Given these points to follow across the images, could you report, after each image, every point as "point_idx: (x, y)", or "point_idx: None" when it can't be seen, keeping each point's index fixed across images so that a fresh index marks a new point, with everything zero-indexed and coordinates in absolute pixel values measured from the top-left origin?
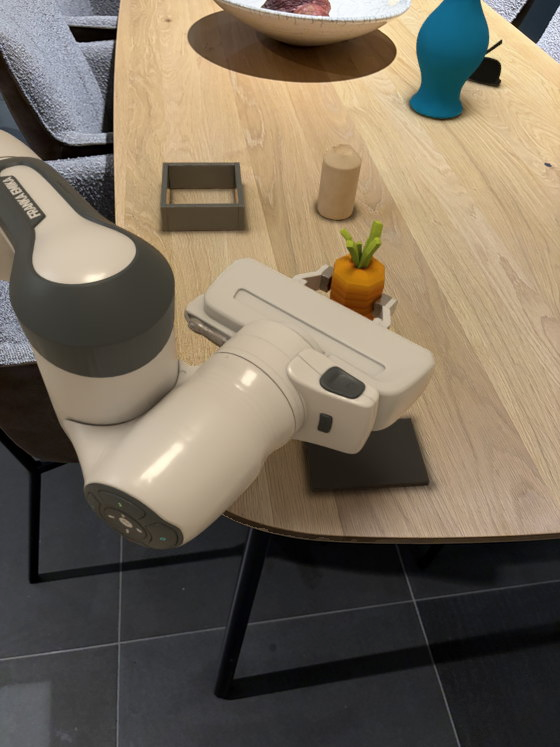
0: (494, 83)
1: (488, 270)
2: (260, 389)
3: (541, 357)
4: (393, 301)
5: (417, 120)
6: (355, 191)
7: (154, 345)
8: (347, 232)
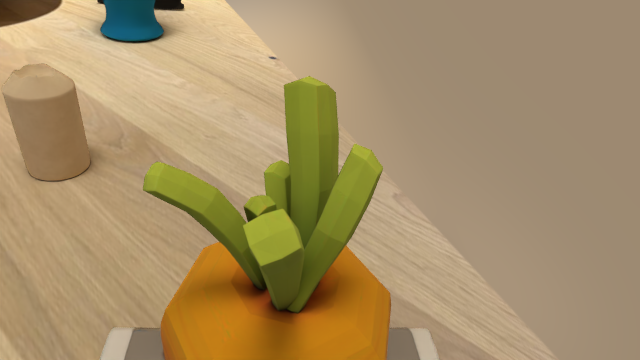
0: (178, 7)
1: None
2: None
3: (436, 243)
4: (428, 344)
5: (120, 46)
6: (82, 128)
7: None
8: (191, 177)
